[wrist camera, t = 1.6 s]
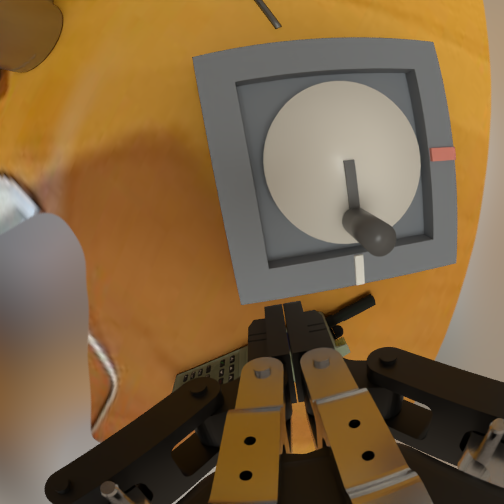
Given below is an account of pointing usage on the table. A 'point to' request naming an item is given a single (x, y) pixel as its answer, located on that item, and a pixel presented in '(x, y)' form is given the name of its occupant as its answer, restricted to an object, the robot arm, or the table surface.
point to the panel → (252, 171)
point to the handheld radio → (234, 362)
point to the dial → (343, 164)
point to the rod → (268, 13)
